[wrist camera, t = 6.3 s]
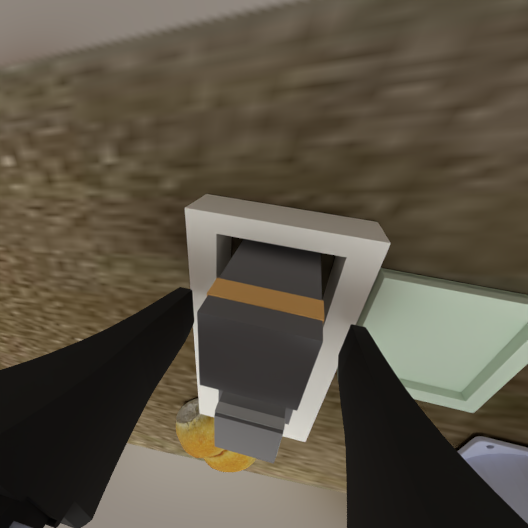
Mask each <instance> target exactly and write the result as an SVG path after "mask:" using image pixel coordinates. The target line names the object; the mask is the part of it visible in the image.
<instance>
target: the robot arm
mask: <svg viewBox="0 0 528 528" xmlns="http://www.w3.org/2000/svg"><path fill="white" fill-rule="evenodd" d="M193 324H194V308H193V293H192V290H191V289H186V288H181V287H179V288H178V289H176V290H174V291H173V292H171V293H169V294H168V295H166V296H164V297H163V298H161V299H159V300H158V301H156V302H155V303H153V304H151V305H149V306H148V307H146V308H144V309H143V310H141V311H139V312H138V313H136V314H134V315H132V316H130V317H128V318H127V319H125V320H123V321H121V322H119V323H117V324H115V325H114V326H112V327H110V328H108V329H106V330H104V331H101V332H99V333H97V334H95V335H93V336H91V337H88V338H86V339H84V340H82V341H79V342H77V343H74V344H72V345H69V346H67V347H64V348H62V349H59V350H57V351H54V352H52V353H49V354H47V355H44V356H41V357H38V358H35V359H33V360H30V361H27V362H24V363H21V364H18V365H15V366H12V367H9V368H6V369H2V370H0V528H43V527H44V526H45V524H46V525H49V526H51V527H54V528H56V527H58V525H59V524H60V523H62V524H65V525H68V526H70V527H73V528H81V527H83V526H84V525H86V524H87V523H88V522H90V521H91V520H92V518H93V516H94V514H95V512H96V509H97V507H98V505H99V502H100V500H101V498H102V495H103V493H104V491H105V488H106V486H107V484H108V482H109V480H110V477H111V475H112V473H113V471H114V469H115V466H116V464H117V462H118V460H119V458H120V456H121V454H122V452H123V450H124V447H125V445H126V443H127V441H128V439H129V437H130V435H131V433H132V431H133V429H134V427H135V425H136V423H137V421H138V419H139V417H140V415H141V413H142V411H143V410H144V408H145V406H146V404H147V402H148V400H149V398H150V396H151V394H152V393H153V391H154V389H155V388H156V386H157V384H158V383H159V381H160V380H161V378H162V377H163V375H164V374H165V372H166V371H167V369H168V367H169V366H170V364H171V363H172V361H173V360H174V358H175V357H176V355H177V353H178V352H179V350H180V349H181V347H182V346H183V344H184V342H185V341H186V339H187V337H188V335H189V333H190V330H191V328H192V326H193ZM338 382H339V391H340V400H341V408H342V417H343V425H344V434H345V445H346V472H347V528H528V447H524V446H520V445H515V444H511V443H507V442H503V441H499V440H495V439H491V438H487V437H483V436H477V437H474V438H473V439H472V440H470V441H469V442H468V443H467V444H466V445H464V446H463V447H462V448H461V449H459V450H458V451H456V450H455V449H454V447H453V446H452V445H451V444H450V443H449V442H448V441H447V440H446V438H445V437H444V436H443V435H442V434H441V433H440V431H439V430H438V429H437V428H436V427H435V425H434V424H433V423H432V422H431V421H430V419H429V418H428V417H427V416H426V415H425V413H424V412H423V411H422V409H421V408H420V407H419V406H418V404H417V403H416V402H415V400H414V399H413V398H412V396H411V395H410V394H409V392H408V391H407V390H406V388H405V387H404V385H403V384H402V383H401V381H400V380H399V378H398V377H397V375H396V374H395V372H394V371H393V369H392V368H391V366H390V365H389V363H388V362H387V360H386V359H385V357H384V356H383V354H382V352H381V351H380V349H379V348H378V346H377V344H376V343H375V341H374V340H373V338H372V336H371V335H370V333H369V331H368V330H367V328H366V327H363V326H358V325H353V324H351V325H350V328H349V330H348V333H347V335H346V338H345V340H344V342H343V345H342V347H341V350H340V352H339V354H338Z"/></svg>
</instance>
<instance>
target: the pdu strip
mask: <svg viewBox="0 0 528 528" xmlns="http://www.w3.org/2000/svg"><path fill="white" fill-rule="evenodd" d="M185 219H186V233H187V247H188V261H189V274H190V288H191V290H192V293H193V308H194V324H193V329H194V343H195V357H196V371H197V384H198V398H199V412H200V414H203V415H207V416H210V417H214V438H215V447H218V448H222V449H225V450H229V451H232V452H236V453H239V454H243V455H246V456H250V457H253V458H257V459H260V460H264V461H267V462H271V463H274V461H275V458H276V455H277V451H278V448H279V445H280V442H281V439H282V436H284V437H288V438H292V439H295V440H299V441H303V442H306V439H307V437H308V435H309V432H310V430H311V428H312V425H313V423H314V421H315V418H316V416H317V414H318V411H319V409H320V407H321V404H322V402H323V400H324V397H325V395H326V393H327V390H328V388H329V386H330V383H331V381H332V379H333V376H334V374H335V372H336V369H337V367H338V354H339V352H340V350H341V347H342V345H343V342H344V340H345V338H346V335H347V333H348V330H349V328H350V325H351V324H353V325H356V323H357V321H358V318H359V316H360V314H361V311H362V309H363V307H364V304H365V302H366V300H367V297H368V295H369V293H370V290H371V288H372V286H373V283H374V281H375V279H376V276H377V274H378V272H379V270H380V267H381V265H382V263H383V260H384V258H385V256H386V253H387V251H388V249H389V246H390V244H391V243H390V241H389V240H388V238H387V236H386V235H385V233H384V231H383V230H382V228H381V226H380V225H379V223H378V222H375V221H369V220H363V219H357V218H351V217H344V216H338V215H332V214H326V213H320V212H314V211H308V210H302V209H296V208H290V207H283V206H277V205H271V204H265V203H259V202H253V201H247V200H241V199H235V198H229V197H222V196H216V195H210V194H206V195H204V196H202V197H201V198H199V199H198V200H196V201H195V202H193V203H191V204H190V205H188V206H187V207H185ZM232 237H237V238H243V239H248V240H254V241H259V242H265V243H270V244H276V245H281V246H286V247H292V248H297V249H303V250H308V251H314V252H319V253H325V254H330V255H336V256H335V259H334V262H333V266H332V269H331V272H330V276H329V279H328V282H327V286H326V289H325V292H324V295H323V299H322V301H324V322H323V343H322V346H321V349H320V351H319V354H318V357H317V359H316V362H315V365H314V367H313V370H312V373H311V375H310V378H309V381H308V383H307V386H306V389H305V391H304V394H303V397H302V399H301V402H300V405H299V407H298V410H297V411H296V410H293V409H289V408H285V407H281V406H278V405H274V404H270V403H266V402H263V401H259V400H255V399H251V398H248V397H244V396H240V395H236V394H232V393H229V392H225V391H221V390H217V389H214V388H210V387H206V386H202V385H200V379H199V351H198V323H197V311H198V310H199V308H200V307H201V305H202V304H203V302H204V300H205V299H206V297H207V292H208V291H209V289H210V288H211V286H212V285H213V283H214V281H215V280H216V278H219V277H220V275H221V274H222V272H223V271H224V269H225V268H226V266H227V264H228V263H229V261H230V260H231V245H232Z"/></svg>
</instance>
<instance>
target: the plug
mask: <svg viewBox="0 0 528 528" xmlns="http://www.w3.org/2000/svg"><path fill="white" fill-rule="evenodd" d="M323 322H324V301H322V283H321V253H319V252H314V251H308V250H303V249H297V248H292V247H286V246H281V245H276V244H270V243H265V242H259V241H254V240H248V239H243V241H242V242H241V244H240V246H239V247H238V249H237V250H236V252H235V253H234V255H233V257H232V258H231V260H230V261H229V263H228V264H227V266H226V268H225V269H224V271H223V272H222V274H221V275H220V277H219V278H216V280H215V281H214V283H213V285H212V286H211V288H210V289H209V291H208V292H207V297H206V299H205V300H204V302H203V304H202V305H201V307H200V308H199V310H198V311H197V323H198V351H199V379H200V385H202V386H206V387H210V388H214V389H217V390H221V391H225V392H229V393H232V394H236V395H240V396H244V397H248V398H251V399H255V400H259V401H263V402H266V403H270V404H274V405H278V406H281V407H285V408H289V409H293V410H296V411H297V410H298V407H299V405H300V402H301V399H302V397H303V394H304V391H305V389H306V386H307V383H308V381H309V378H310V375H311V373H312V370H313V367H314V365H315V362H316V359H317V357H318V354H319V351H320V349H321V346H322V343H323Z"/></svg>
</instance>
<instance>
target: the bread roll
mask: <svg viewBox="0 0 528 528" xmlns="http://www.w3.org/2000/svg"><path fill="white" fill-rule="evenodd" d="M176 420H177V422H176V432H177V435H178V438H179V441H180V443H181V445H182V446H183V448H184V450H185V451H186V452H187V453H188V454H190V455H192V456H193V457H195V458H204V460H205V461H206V463H207V464H208V465H209V466H210V467H212V468H213V469H216V470H219V471H223V472H237V471H241V470H243V469H246V468H247V467H249V466H250V465H251V464H252V463H253V462H254V461H255V460H256V458H253V457H250V456H246V455H243V454H239V453H236V452H232V451H229V450H225V449H222V448H218V447H215V438H214V417H210V416H207V415H203V414H200V412H199V398H197V399H194V400H192V401H190V402H188V403H186V404H185V405H184V406H183V407H182V408H181V409H180V411H179V412H178V414H177V417H176Z"/></svg>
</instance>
